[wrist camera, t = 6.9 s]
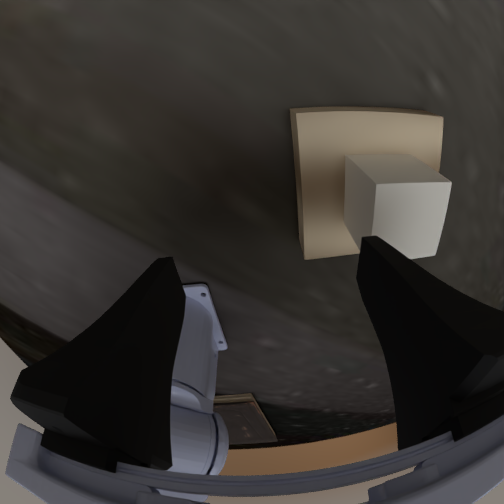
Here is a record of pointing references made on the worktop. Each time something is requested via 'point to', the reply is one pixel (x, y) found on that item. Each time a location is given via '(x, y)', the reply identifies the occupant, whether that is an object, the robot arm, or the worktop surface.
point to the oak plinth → (333, 162)
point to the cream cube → (395, 202)
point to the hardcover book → (243, 419)
